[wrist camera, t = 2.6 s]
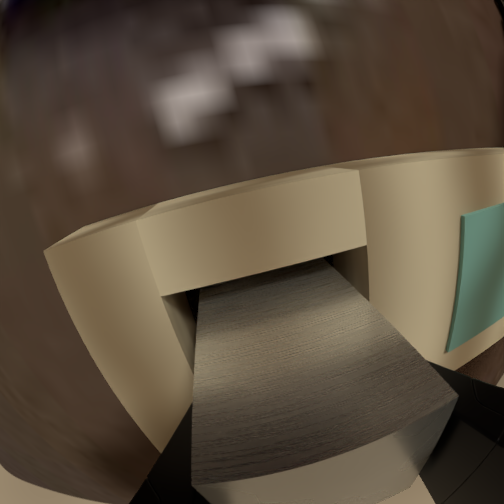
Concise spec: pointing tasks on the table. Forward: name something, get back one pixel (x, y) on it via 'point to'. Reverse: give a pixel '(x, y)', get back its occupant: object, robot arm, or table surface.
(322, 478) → the steel block
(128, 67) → the table surface
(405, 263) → the beige slotted block
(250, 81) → the table surface
